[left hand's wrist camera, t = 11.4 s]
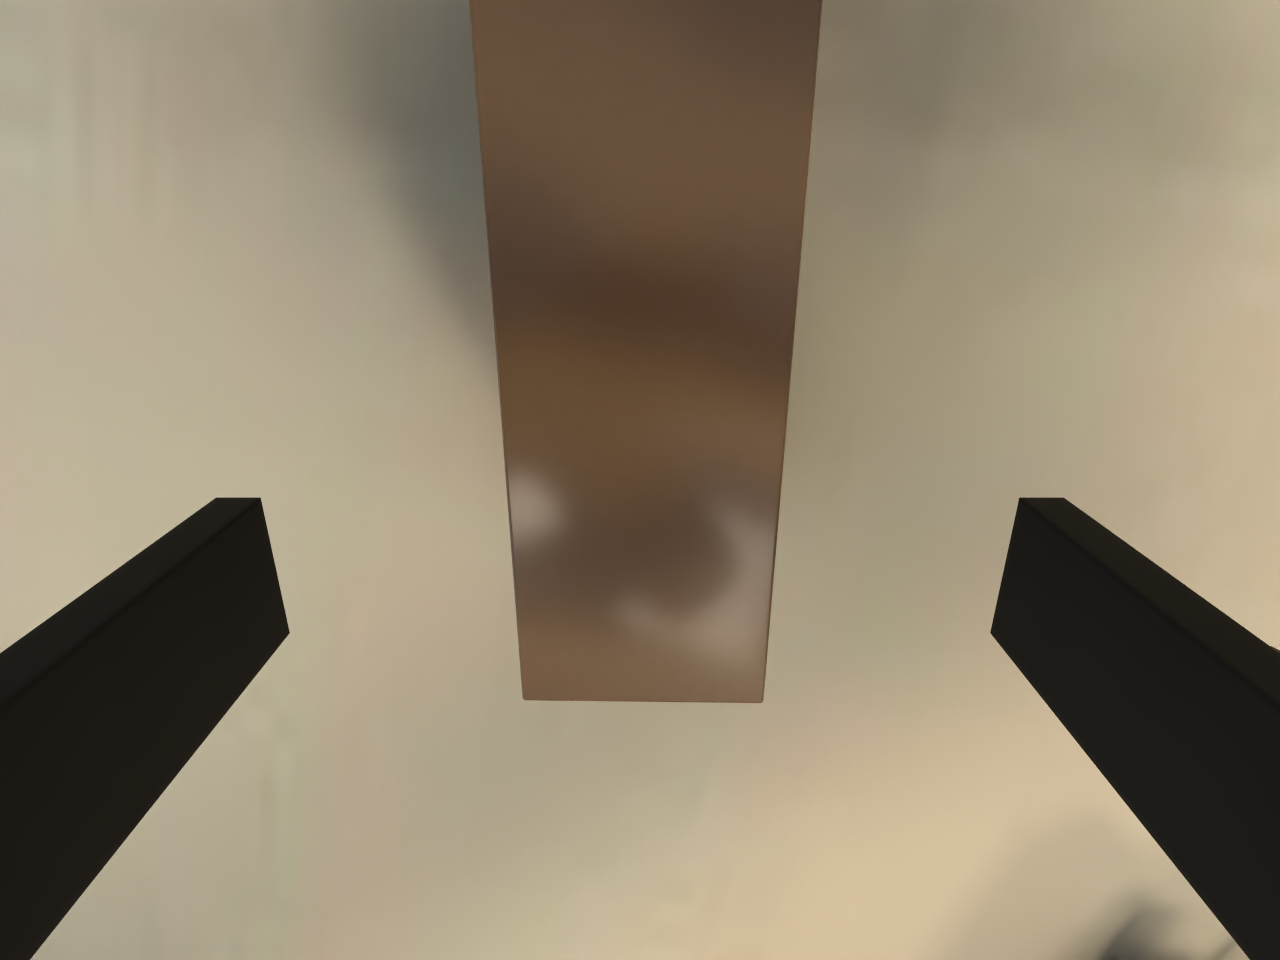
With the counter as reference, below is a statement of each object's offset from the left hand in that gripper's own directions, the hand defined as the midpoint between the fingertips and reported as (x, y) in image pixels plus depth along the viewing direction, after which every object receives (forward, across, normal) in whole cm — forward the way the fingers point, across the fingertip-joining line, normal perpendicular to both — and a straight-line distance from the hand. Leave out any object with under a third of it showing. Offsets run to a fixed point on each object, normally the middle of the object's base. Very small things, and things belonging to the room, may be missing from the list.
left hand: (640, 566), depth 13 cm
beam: (+9, 0, -22) cm, 23 cm away
